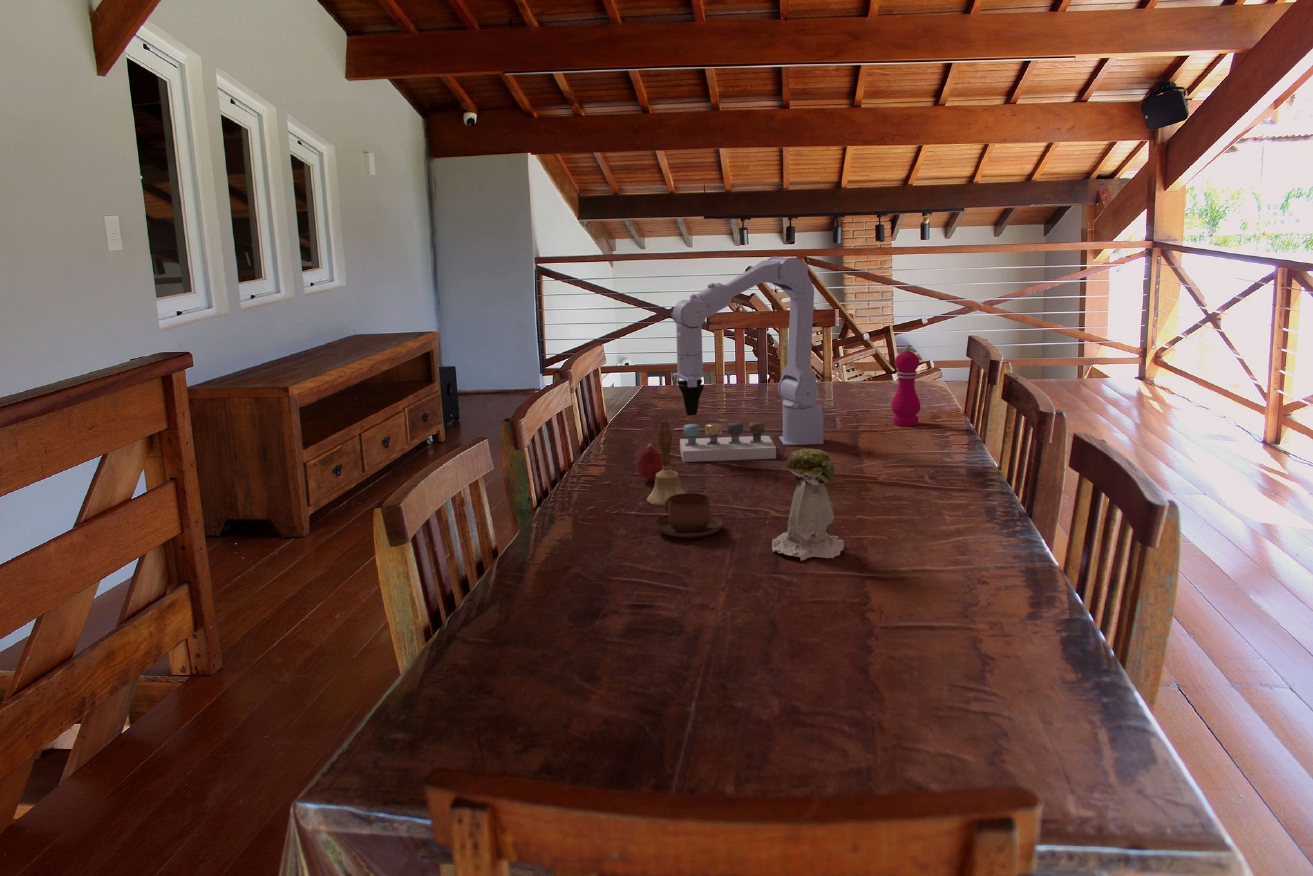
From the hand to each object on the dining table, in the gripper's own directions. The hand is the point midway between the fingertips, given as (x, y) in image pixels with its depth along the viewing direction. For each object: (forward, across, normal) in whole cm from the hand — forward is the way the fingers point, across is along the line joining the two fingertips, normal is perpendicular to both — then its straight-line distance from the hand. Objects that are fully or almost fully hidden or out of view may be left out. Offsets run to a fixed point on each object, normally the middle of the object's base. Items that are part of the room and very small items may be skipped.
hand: (691, 413), depth 229 cm
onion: (+10, +21, -10) cm, 25 cm away
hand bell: (+10, +35, -7) cm, 37 cm away
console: (+10, 0, +8) cm, 13 cm away
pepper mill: (+10, -24, +56) cm, 62 cm away
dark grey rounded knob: (+7, 0, +10) cm, 12 cm away
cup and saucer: (+10, +55, -4) cm, 56 cm away
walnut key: (+7, 0, +15) cm, 17 cm away
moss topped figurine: (+10, +67, +15) cm, 69 cm away
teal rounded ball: (+7, 0, 0) cm, 7 cm away
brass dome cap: (+7, 0, +5) cm, 9 cm away
